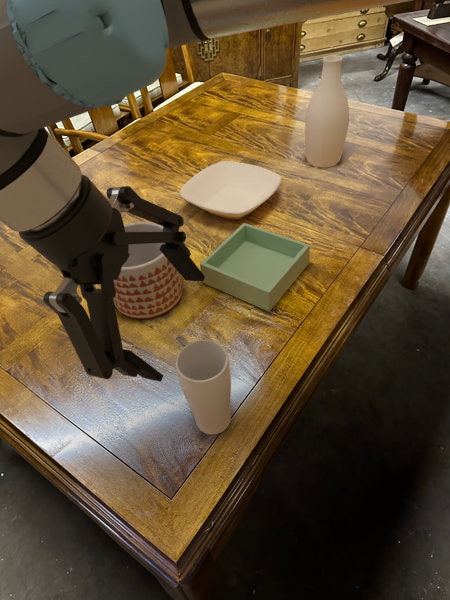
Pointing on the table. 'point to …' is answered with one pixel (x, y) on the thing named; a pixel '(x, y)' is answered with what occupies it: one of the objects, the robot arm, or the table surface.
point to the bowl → (230, 188)
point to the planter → (146, 278)
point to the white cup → (206, 384)
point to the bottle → (327, 117)
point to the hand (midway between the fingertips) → (175, 325)
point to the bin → (255, 265)
